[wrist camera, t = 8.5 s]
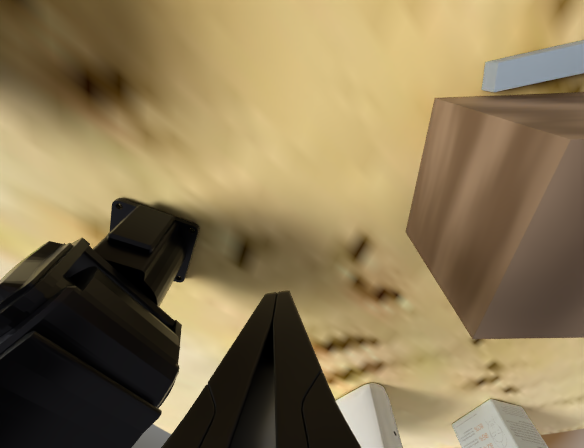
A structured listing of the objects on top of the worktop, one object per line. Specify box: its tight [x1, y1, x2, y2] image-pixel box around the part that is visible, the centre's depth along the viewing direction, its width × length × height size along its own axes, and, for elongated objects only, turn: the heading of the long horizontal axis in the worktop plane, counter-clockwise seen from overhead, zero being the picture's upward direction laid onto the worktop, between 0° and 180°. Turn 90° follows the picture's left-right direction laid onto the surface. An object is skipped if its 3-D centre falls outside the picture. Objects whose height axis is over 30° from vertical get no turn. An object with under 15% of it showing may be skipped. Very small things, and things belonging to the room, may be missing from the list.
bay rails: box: [482, 40, 584, 92], centre depth 19 cm, size 10×16×1 cm, turn 12°
